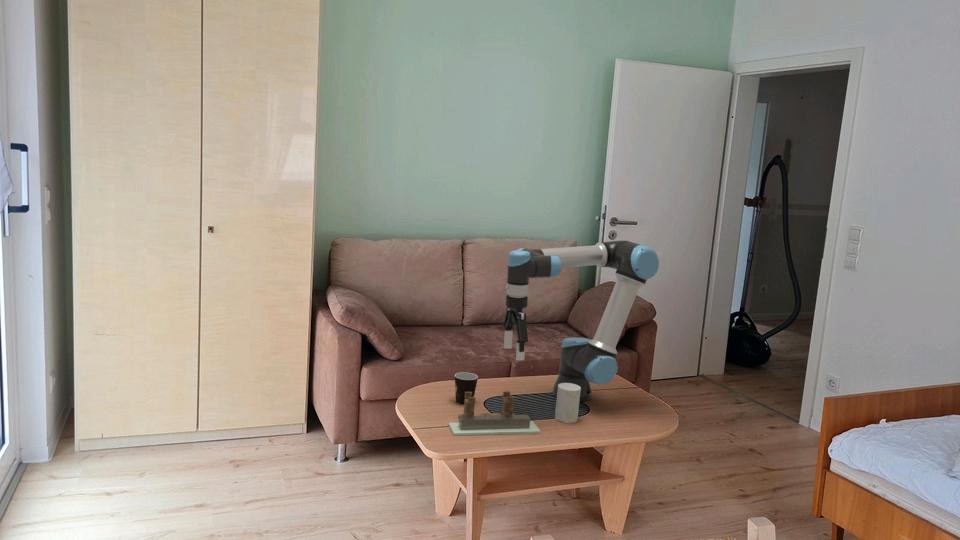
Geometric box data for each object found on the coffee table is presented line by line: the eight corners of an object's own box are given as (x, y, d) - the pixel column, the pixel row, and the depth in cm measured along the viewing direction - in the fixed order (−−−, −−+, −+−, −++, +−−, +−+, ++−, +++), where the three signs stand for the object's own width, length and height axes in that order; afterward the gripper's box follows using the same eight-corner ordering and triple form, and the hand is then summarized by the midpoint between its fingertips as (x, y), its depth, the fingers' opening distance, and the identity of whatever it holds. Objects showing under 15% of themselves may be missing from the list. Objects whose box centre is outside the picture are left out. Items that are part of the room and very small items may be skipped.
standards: (512, 415, 261) (514, 391, 260) (517, 421, 256) (519, 397, 254) (458, 416, 256) (459, 391, 255) (461, 422, 251) (463, 397, 249)
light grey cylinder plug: (562, 424, 257) (566, 391, 255) (550, 415, 264) (553, 383, 262) (581, 421, 261) (585, 389, 259) (569, 413, 268) (572, 382, 266)
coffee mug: (473, 407, 266) (475, 381, 264) (450, 404, 267) (452, 378, 266) (479, 396, 277) (481, 371, 275) (457, 393, 279) (459, 368, 277)
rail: (526, 424, 252) (527, 414, 251) (529, 428, 249) (530, 418, 248) (458, 425, 246) (459, 416, 245) (460, 429, 243) (461, 420, 242)
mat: (532, 423, 256) (532, 420, 255) (540, 433, 247) (540, 431, 247) (448, 424, 248) (448, 422, 248) (453, 435, 240) (454, 433, 239)
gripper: (496, 287, 263) (493, 343, 267) (518, 304, 240) (515, 365, 244) (515, 287, 265) (512, 343, 270) (539, 303, 242) (536, 364, 246)
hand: (513, 354), depth 257 cm, fingers open, 13 cm apart
